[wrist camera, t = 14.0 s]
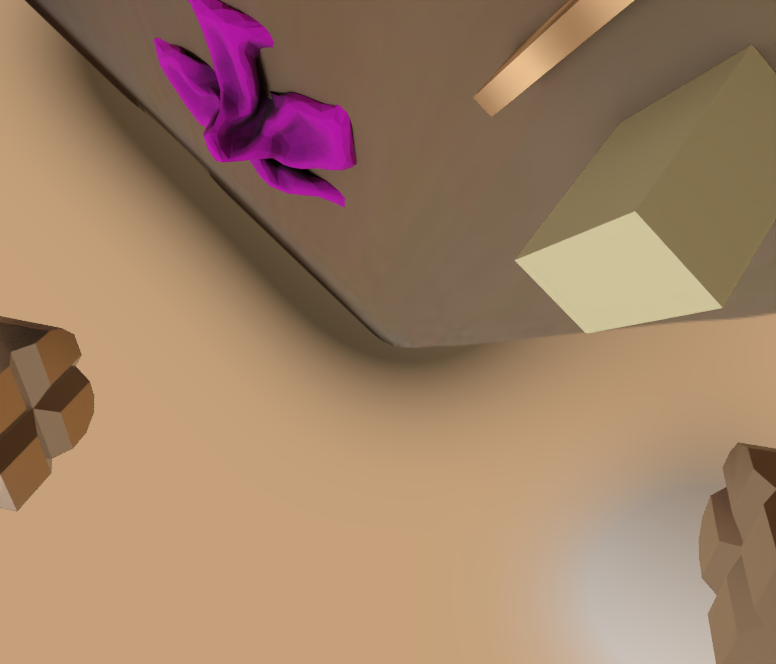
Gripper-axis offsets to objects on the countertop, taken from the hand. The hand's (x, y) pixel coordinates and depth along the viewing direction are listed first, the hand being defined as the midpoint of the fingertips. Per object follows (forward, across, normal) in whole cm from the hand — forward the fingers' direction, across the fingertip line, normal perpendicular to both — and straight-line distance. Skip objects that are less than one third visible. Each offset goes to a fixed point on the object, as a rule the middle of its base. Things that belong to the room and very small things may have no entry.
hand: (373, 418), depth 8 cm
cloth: (+42, -19, -10) cm, 47 cm away
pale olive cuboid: (+24, +8, -3) cm, 26 cm away
